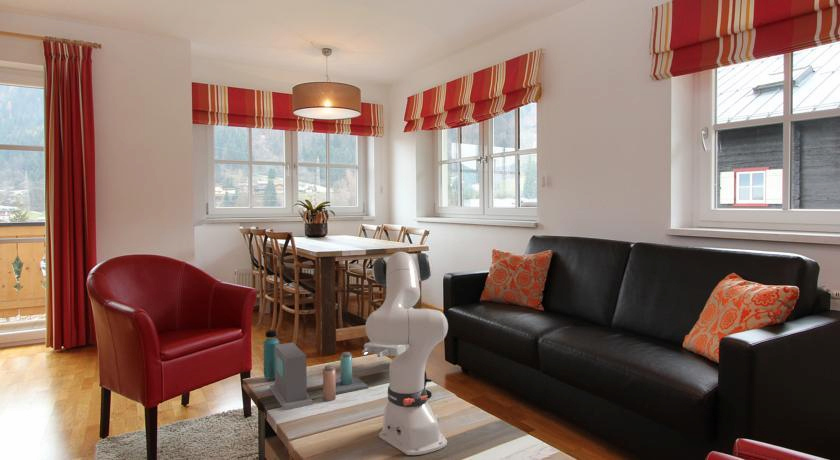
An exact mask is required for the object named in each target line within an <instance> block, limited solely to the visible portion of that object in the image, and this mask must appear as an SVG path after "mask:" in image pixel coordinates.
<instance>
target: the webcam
mask: <svg viewBox="0 0 840 460" xmlns="http://www.w3.org/2000/svg"><path fill="white" fill-rule="evenodd" d="M431 382H432V379H429V378H427V373H426V370H425V375H424V386H425V387H426V385H427V383H431ZM426 392H427V395H428V396H427V398H429V399H430V398H431V397H432V395H433V394H432V391H430V390H428V389H426Z"/></svg>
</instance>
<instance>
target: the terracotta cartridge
mask: <svg viewBox="0 0 840 460" xmlns="http://www.w3.org/2000/svg"><path fill="white" fill-rule="evenodd" d="M336 369H337V368H336V367H334V365H331V364H328V365H325V366H324V368H323V369H322V377H323V378H322V390H323V391H322V392H323V393H322V394H323V395H322V396H323V397H322V399H323V401H325V402H333V401H335V400H336V396H337V395H336V379H337V378H336V377H337V376H336Z"/></svg>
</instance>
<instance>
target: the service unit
mask: <svg viewBox="0 0 840 460" xmlns="http://www.w3.org/2000/svg"><path fill="white" fill-rule="evenodd" d="M307 378H308V377H307V354H306V353H304V352H303V351H302V350H301V349H300V348H299V347H298V346H297V345H296V344H295V343H294V342H288V343H287V342H286V343H279V345H275V378H274V384H270V385H269V390H270V391H271V392H272V394H273V396H274V397H275V399H276V400H277V402H278V404H280V406H281V408H282V409H283V411H287V410H292V409H297V408H302V407H307V406H311V405H313V404H314V403H313V399H312V397H310V396H309V394H308V390H307V388H308V387H307V384H308V383H307Z"/></svg>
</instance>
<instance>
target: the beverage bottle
mask: <svg viewBox="0 0 840 460" xmlns="http://www.w3.org/2000/svg"><path fill="white" fill-rule="evenodd" d="M265 337H266V339H265V340H264V341H263V342H262V344H263V347H262V348H263V376H264V378H265V379H275V345H279V344H280V340H279V339H278V338H277V330H275V329H270V330H267V331H266V332H265Z"/></svg>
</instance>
